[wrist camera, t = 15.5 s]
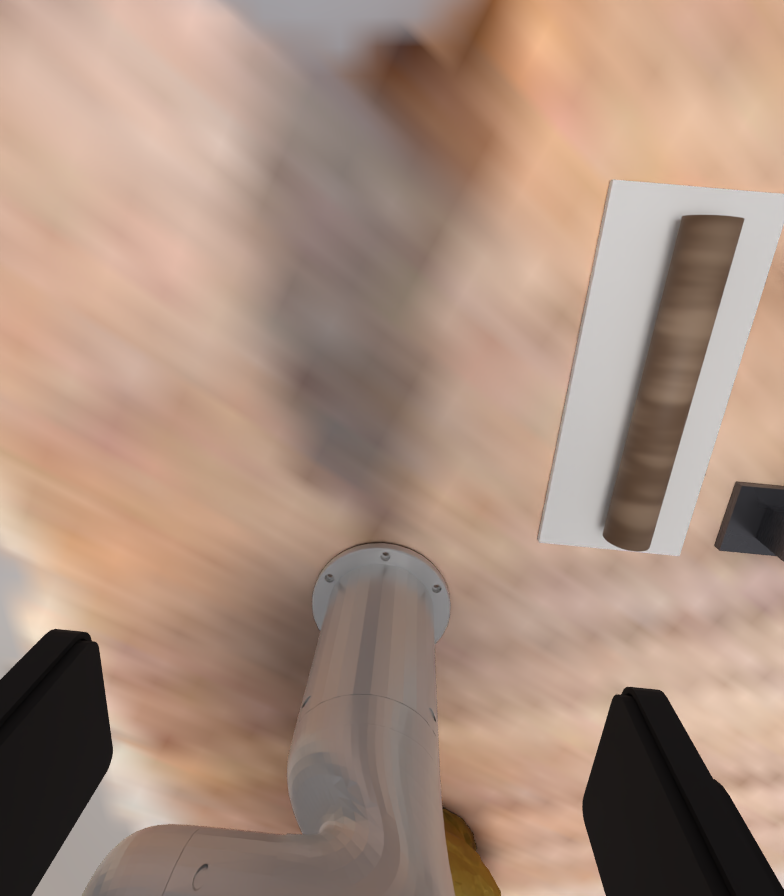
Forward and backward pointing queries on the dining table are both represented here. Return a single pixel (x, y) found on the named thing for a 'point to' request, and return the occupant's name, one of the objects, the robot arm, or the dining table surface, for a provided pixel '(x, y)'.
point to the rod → (670, 375)
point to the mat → (626, 347)
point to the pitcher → (466, 860)
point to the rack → (754, 520)
